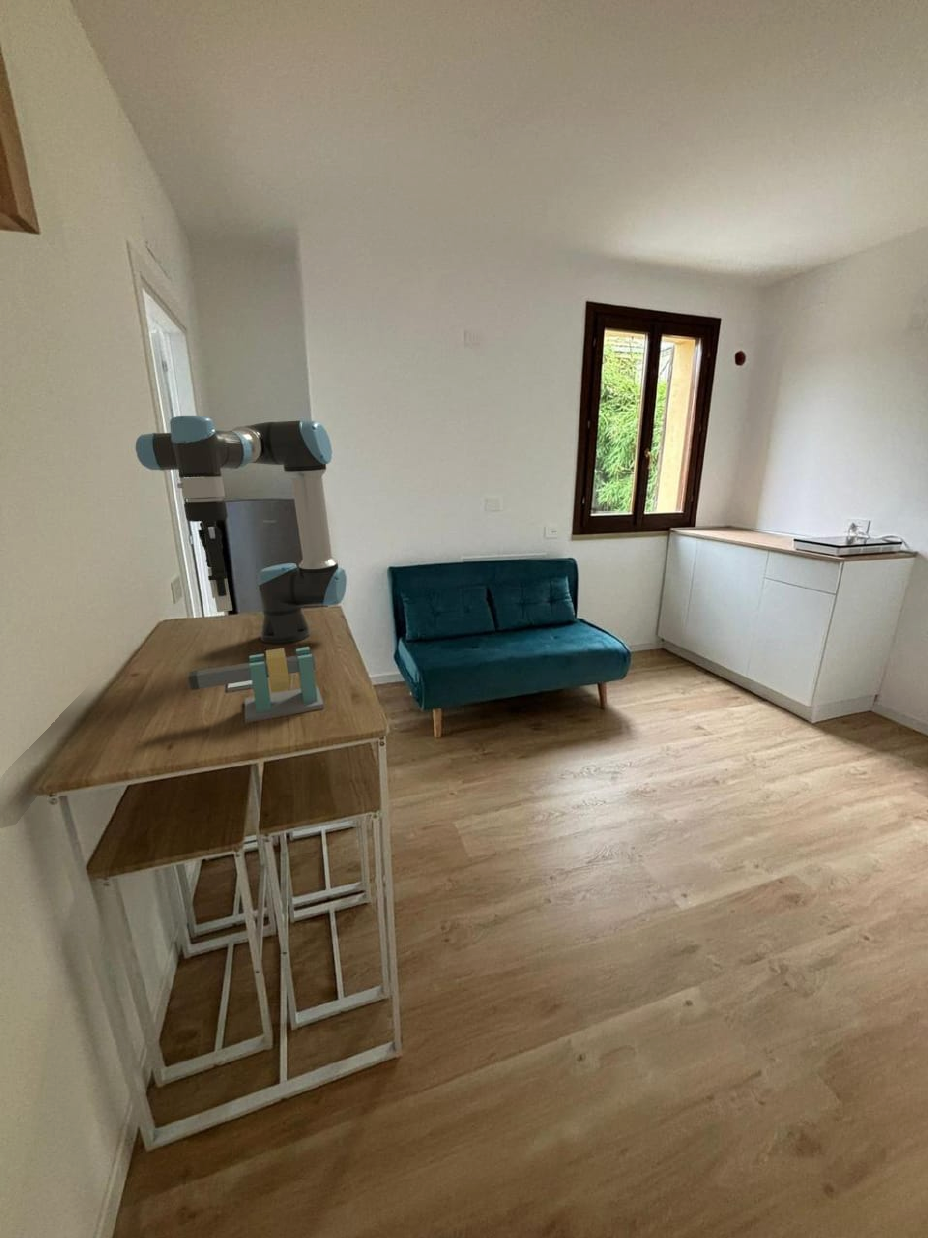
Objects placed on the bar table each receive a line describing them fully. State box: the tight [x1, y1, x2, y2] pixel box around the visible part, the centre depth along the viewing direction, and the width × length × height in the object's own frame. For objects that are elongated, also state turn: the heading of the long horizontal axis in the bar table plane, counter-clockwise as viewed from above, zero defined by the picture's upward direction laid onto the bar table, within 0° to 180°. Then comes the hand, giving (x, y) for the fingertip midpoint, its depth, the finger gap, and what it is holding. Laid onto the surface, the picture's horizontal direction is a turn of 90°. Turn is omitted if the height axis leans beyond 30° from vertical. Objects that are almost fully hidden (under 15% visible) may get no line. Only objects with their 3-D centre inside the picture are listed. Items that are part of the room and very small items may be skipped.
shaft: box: [188, 652, 316, 691], centre depth 113 cm, size 3×26×3 cm, turn 112°
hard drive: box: [226, 680, 253, 692], centre depth 133 cm, size 2×8×12 cm
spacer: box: [265, 647, 291, 693], centre depth 115 cm, size 6×4×8 cm, turn 22°
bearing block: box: [244, 646, 325, 724], centre depth 116 cm, size 11×16×12 cm, turn 112°
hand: (221, 603), depth 107 cm, fingers open, 13 cm apart
